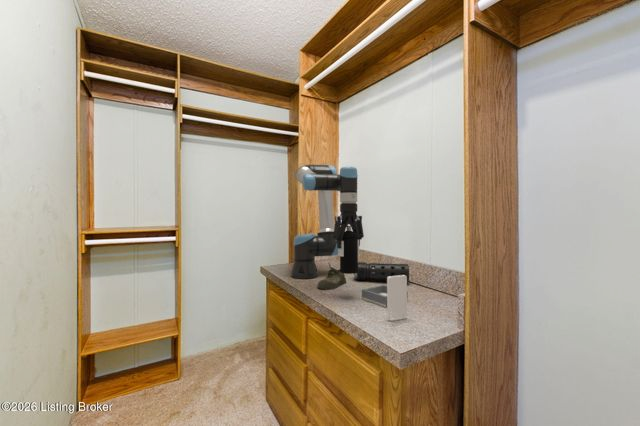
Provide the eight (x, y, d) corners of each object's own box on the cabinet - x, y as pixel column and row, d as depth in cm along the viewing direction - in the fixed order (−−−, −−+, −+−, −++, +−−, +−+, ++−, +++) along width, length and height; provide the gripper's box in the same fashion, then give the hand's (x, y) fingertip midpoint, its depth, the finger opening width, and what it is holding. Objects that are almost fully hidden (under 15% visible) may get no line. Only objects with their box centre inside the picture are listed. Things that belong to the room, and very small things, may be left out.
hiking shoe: (314, 290, 136) (314, 265, 136) (337, 282, 152) (337, 259, 152) (329, 293, 131) (328, 267, 130) (351, 284, 146) (351, 261, 146)
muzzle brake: (409, 285, 143) (409, 265, 143) (353, 283, 148) (353, 263, 148) (407, 281, 152) (407, 262, 152) (355, 279, 158) (355, 260, 158)
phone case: (404, 316, 100) (404, 274, 100) (407, 318, 99) (406, 275, 99) (387, 319, 98) (386, 276, 98) (389, 321, 96) (389, 277, 96)
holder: (361, 299, 121) (361, 289, 121) (383, 293, 129) (383, 284, 129) (385, 307, 110) (385, 297, 110) (407, 301, 118) (407, 291, 118)
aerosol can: (353, 274, 118) (353, 226, 117) (336, 272, 122) (335, 226, 122) (361, 271, 125) (361, 225, 124) (344, 268, 129) (344, 225, 129)
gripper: (334, 202, 114) (335, 258, 114) (372, 202, 126) (372, 253, 126) (324, 202, 120) (324, 256, 120) (360, 203, 132) (360, 251, 132)
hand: (348, 254), depth 123 cm, fingers closed on aerosol can, 8 cm apart
